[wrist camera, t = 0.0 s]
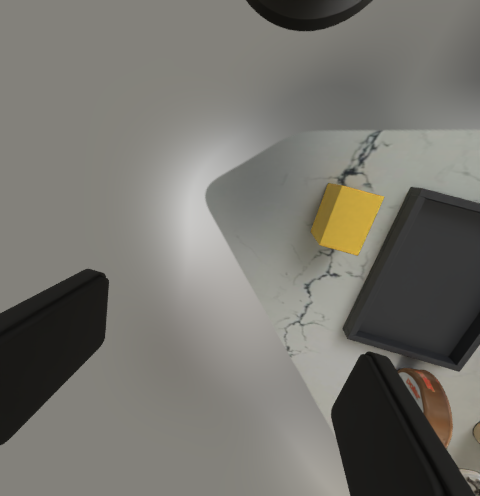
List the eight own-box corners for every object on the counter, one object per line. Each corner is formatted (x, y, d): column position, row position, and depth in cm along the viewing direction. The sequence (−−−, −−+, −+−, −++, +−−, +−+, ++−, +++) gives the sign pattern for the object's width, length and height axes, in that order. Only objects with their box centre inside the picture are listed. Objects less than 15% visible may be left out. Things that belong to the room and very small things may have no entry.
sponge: (310, 231, 29) (319, 245, 24) (328, 183, 27) (341, 185, 22) (342, 240, 29) (358, 255, 23) (362, 192, 27) (384, 196, 21)
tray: (410, 187, 26) (422, 188, 24) (544, 222, 25) (567, 226, 23) (342, 328, 32) (347, 338, 30) (447, 359, 32) (459, 371, 30)
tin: (392, 432, 37) (426, 504, 29) (371, 429, 37) (398, 499, 29) (420, 355, 32) (469, 415, 24) (396, 352, 32) (436, 410, 24)
